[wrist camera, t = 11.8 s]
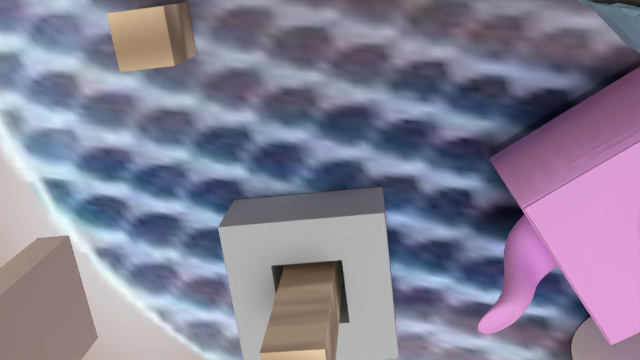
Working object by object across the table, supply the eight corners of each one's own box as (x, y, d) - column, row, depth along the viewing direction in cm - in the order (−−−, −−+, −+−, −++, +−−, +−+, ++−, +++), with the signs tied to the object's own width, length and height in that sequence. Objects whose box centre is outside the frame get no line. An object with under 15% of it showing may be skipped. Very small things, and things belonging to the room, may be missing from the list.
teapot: (683, 30, 38) (825, 55, 26) (748, 156, 40) (907, 231, 28) (415, 193, 43) (433, 277, 31) (487, 297, 45) (530, 412, 33)
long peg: (291, 241, 45) (259, 353, 32) (337, 237, 45) (324, 349, 31) (297, 282, 46) (269, 407, 33) (342, 279, 46) (332, 404, 32)
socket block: (233, 200, 44) (218, 227, 39) (382, 186, 43) (384, 212, 38) (257, 328, 48) (245, 367, 43) (395, 319, 46) (398, 358, 42)
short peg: (136, 8, 40) (106, 13, 35) (187, 2, 40) (162, 6, 35) (148, 60, 41) (119, 72, 37) (196, 55, 41) (174, 65, 36)
